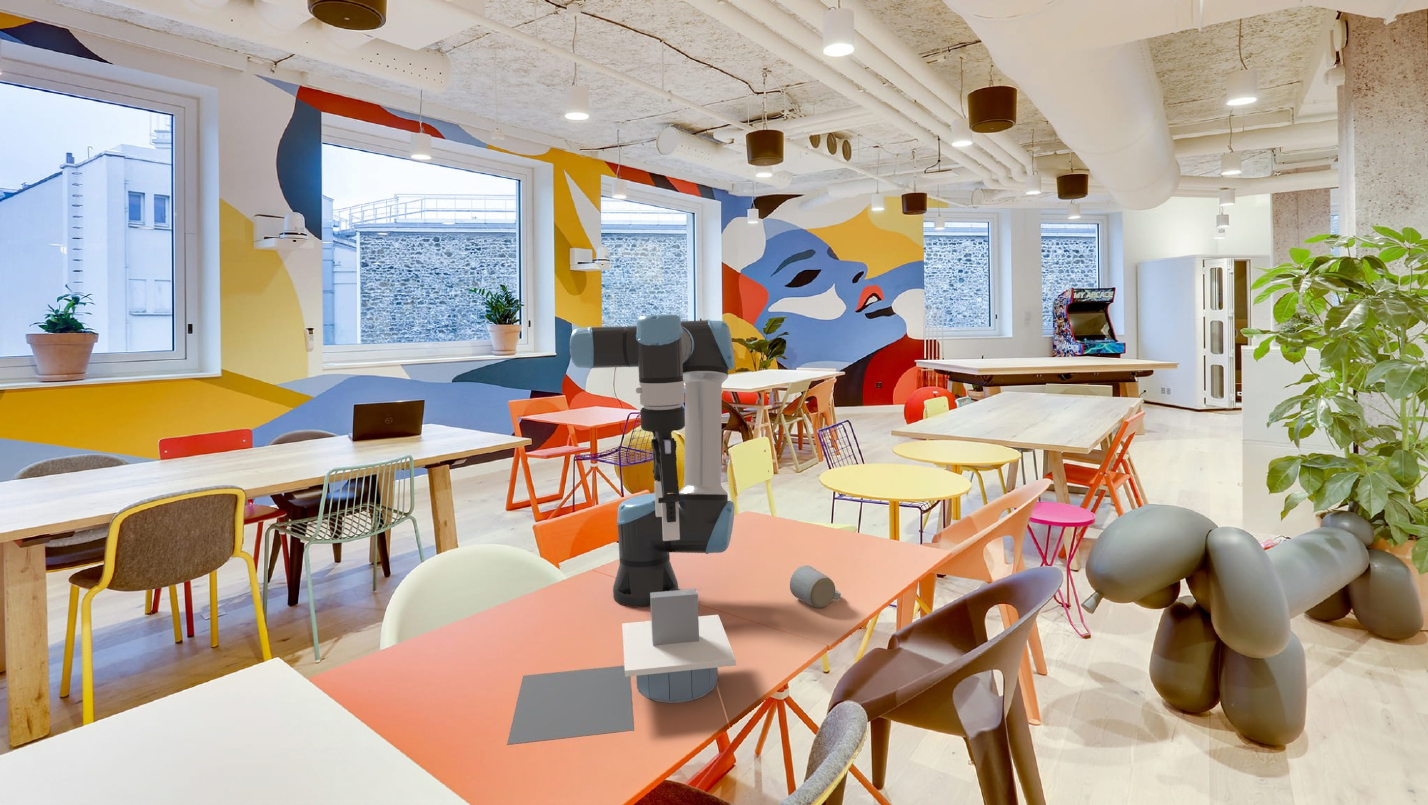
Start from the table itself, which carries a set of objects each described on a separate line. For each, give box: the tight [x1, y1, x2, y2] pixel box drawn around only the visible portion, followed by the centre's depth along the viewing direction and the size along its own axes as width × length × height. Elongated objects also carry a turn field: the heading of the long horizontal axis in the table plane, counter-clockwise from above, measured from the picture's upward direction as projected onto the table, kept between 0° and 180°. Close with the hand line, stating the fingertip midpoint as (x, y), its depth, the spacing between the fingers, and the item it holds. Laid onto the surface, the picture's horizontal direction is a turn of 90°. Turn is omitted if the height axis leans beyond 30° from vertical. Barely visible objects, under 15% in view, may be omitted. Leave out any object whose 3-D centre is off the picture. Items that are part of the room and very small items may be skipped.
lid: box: [621, 588, 737, 677], centre depth 121 cm, size 18×18×10 cm
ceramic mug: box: [789, 564, 842, 609], centre depth 156 cm, size 11×8×8 cm
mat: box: [506, 665, 635, 746], centre depth 116 cm, size 21×19×1 cm
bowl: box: [635, 667, 719, 704], centre depth 122 cm, size 14×14×7 cm
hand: (667, 527), depth 121 cm, fingers open, 13 cm apart
